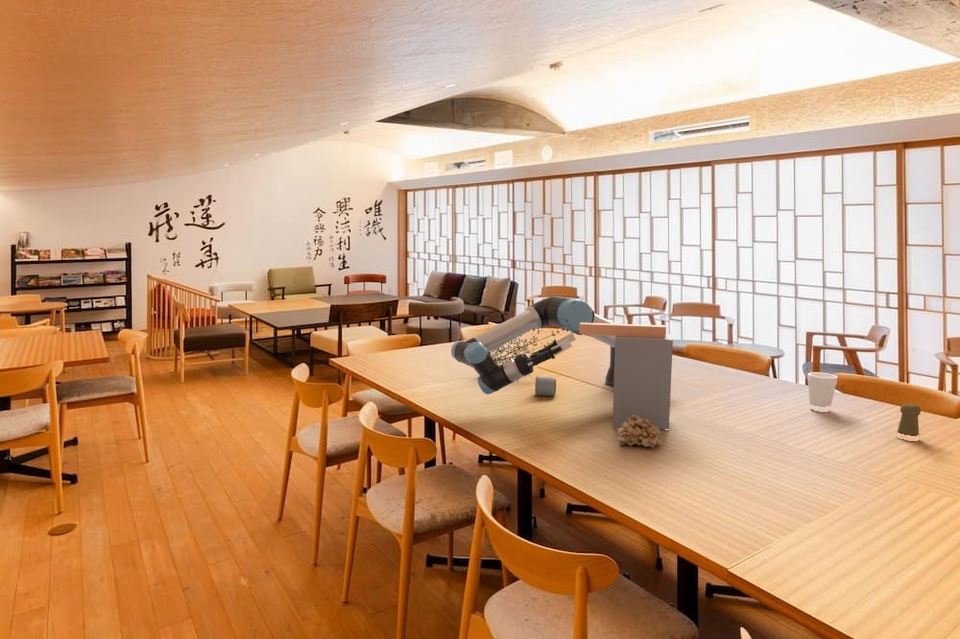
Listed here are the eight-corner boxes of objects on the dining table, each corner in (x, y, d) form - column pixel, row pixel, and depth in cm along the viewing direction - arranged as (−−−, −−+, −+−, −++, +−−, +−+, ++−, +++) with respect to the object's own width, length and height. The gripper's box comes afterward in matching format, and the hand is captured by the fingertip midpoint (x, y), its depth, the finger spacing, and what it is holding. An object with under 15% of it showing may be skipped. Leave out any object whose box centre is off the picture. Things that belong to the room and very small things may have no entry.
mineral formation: (613, 447, 183) (618, 429, 197) (659, 459, 180) (660, 440, 194) (619, 423, 181) (623, 406, 195) (665, 434, 178) (666, 416, 192)
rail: (579, 334, 206) (579, 324, 206) (580, 332, 210) (580, 322, 209) (665, 337, 200) (665, 327, 199) (664, 335, 203) (665, 325, 203)
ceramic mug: (556, 397, 239) (556, 378, 238) (535, 397, 239) (535, 378, 238) (554, 391, 250) (554, 372, 249) (534, 391, 250) (534, 372, 249)
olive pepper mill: (896, 434, 196) (899, 400, 194) (919, 437, 192) (922, 403, 191) (895, 439, 191) (899, 405, 189) (919, 443, 188) (923, 408, 186)
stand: (612, 426, 204) (615, 337, 200) (613, 416, 215) (616, 332, 211) (668, 430, 200) (672, 340, 195) (666, 419, 211) (670, 334, 207)
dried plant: (456, 341, 263) (551, 301, 251) (476, 335, 293) (562, 299, 281) (482, 407, 262) (580, 369, 249) (500, 394, 292) (588, 360, 279)
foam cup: (831, 407, 225) (834, 373, 223) (837, 414, 216) (840, 379, 215) (803, 405, 228) (805, 371, 226) (807, 412, 220) (810, 377, 218)
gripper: (530, 368, 227) (580, 342, 221) (517, 385, 203) (574, 356, 197) (520, 351, 227) (570, 324, 221) (506, 365, 203) (562, 335, 197)
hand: (572, 339), depth 209 cm, fingers open, 13 cm apart
